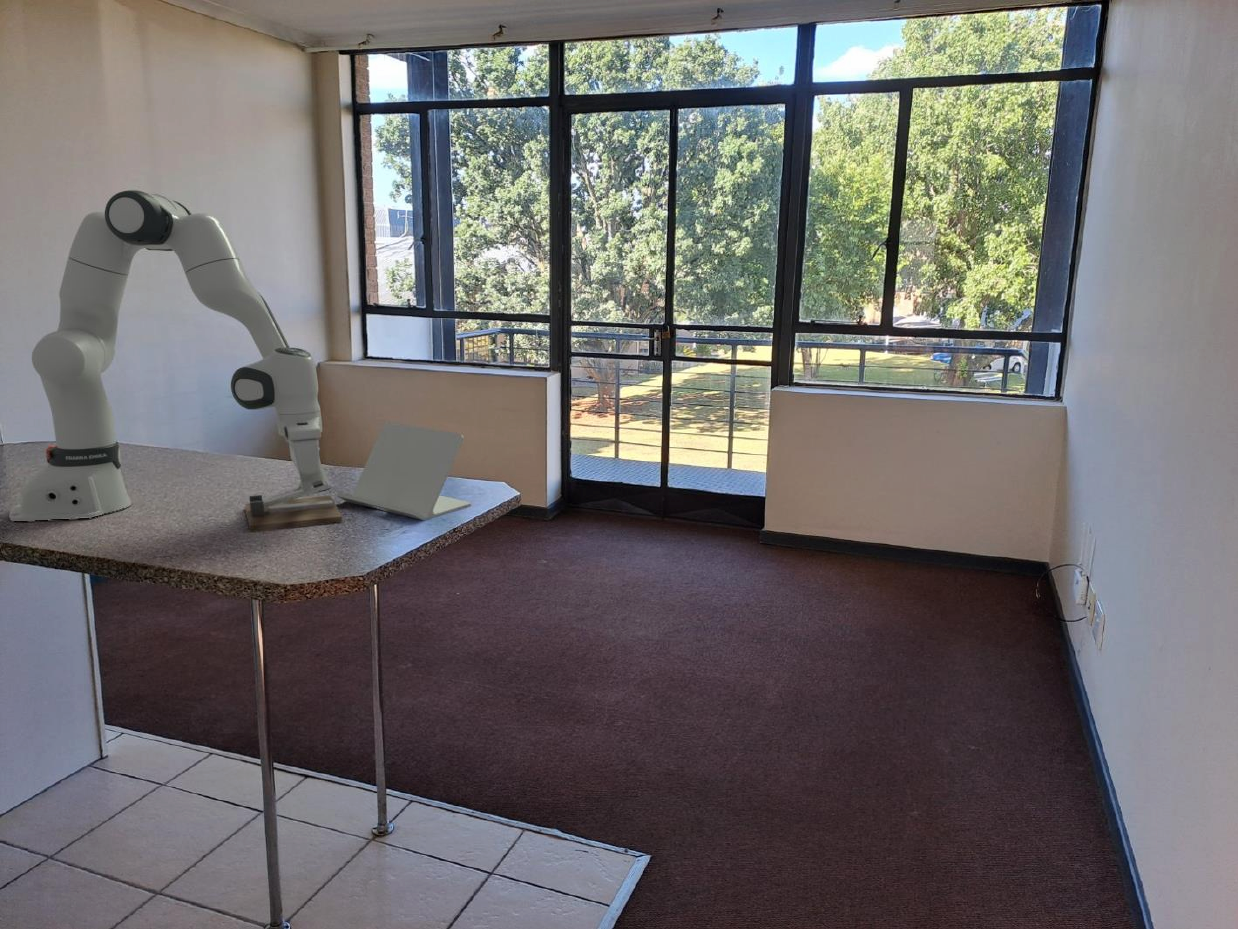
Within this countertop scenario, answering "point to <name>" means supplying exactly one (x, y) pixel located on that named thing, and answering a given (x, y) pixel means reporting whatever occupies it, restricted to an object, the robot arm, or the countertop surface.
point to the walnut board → (294, 516)
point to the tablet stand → (409, 472)
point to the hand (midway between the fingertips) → (306, 488)
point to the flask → (318, 476)
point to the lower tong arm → (284, 506)
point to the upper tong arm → (295, 494)
